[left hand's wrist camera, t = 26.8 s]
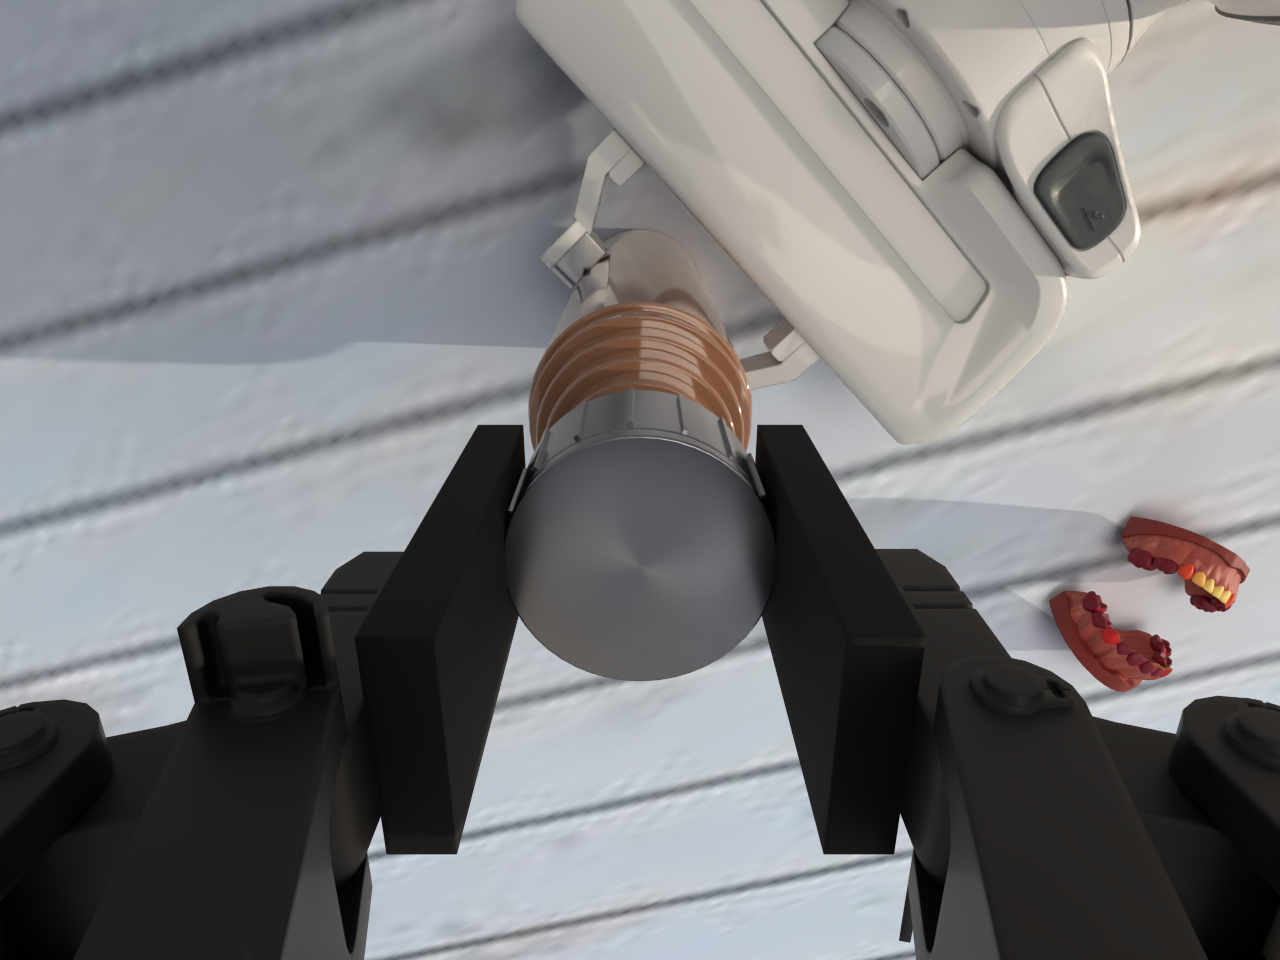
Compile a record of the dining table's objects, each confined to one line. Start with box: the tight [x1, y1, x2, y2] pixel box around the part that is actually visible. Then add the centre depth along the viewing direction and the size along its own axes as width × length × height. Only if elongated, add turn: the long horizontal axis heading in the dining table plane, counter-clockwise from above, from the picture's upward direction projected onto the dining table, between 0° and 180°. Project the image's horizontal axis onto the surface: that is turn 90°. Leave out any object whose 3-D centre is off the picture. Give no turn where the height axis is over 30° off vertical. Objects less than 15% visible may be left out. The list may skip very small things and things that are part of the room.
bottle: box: [529, 229, 752, 451], centre depth 24 cm, size 5×5×24 cm
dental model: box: [1049, 517, 1250, 692], centre depth 38 cm, size 6×4×8 cm
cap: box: [504, 388, 776, 681], centre depth 13 cm, size 4×4×2 cm
